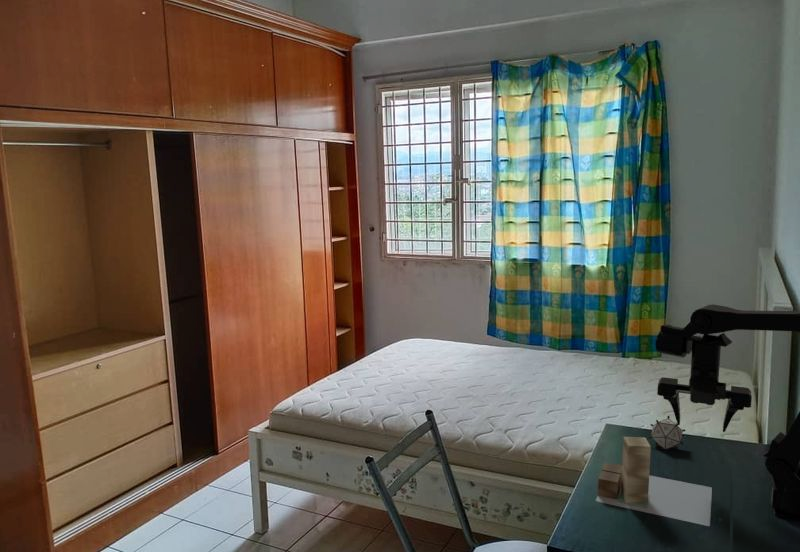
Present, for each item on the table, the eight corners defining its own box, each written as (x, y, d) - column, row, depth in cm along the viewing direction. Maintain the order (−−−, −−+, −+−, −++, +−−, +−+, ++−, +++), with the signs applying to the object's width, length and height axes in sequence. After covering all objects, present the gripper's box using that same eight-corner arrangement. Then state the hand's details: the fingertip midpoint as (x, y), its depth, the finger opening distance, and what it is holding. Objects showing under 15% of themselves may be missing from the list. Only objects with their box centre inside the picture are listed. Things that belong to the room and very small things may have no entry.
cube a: (619, 491, 137) (620, 474, 136) (616, 499, 134) (617, 482, 133) (601, 487, 139) (601, 470, 138) (597, 495, 135) (598, 478, 135)
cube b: (622, 482, 141) (623, 465, 140) (620, 490, 137) (620, 473, 137) (604, 478, 143) (605, 462, 142) (601, 486, 139) (602, 469, 139)
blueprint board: (711, 491, 138) (712, 487, 138) (709, 530, 123) (709, 525, 123) (608, 471, 148) (609, 466, 148) (595, 505, 133) (595, 500, 133)
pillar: (642, 493, 136) (645, 437, 134) (647, 504, 131) (650, 446, 129) (621, 492, 136) (623, 436, 134) (625, 503, 132) (628, 445, 130)
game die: (659, 463, 159) (637, 435, 158) (663, 440, 166) (642, 413, 164) (693, 456, 154) (670, 426, 152) (695, 432, 160) (674, 404, 159)
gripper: (656, 366, 135) (653, 434, 138) (755, 378, 127) (749, 449, 129) (661, 353, 145) (657, 416, 148) (752, 363, 137) (747, 429, 139)
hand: (700, 427), depth 141 cm, fingers open, 9 cm apart
